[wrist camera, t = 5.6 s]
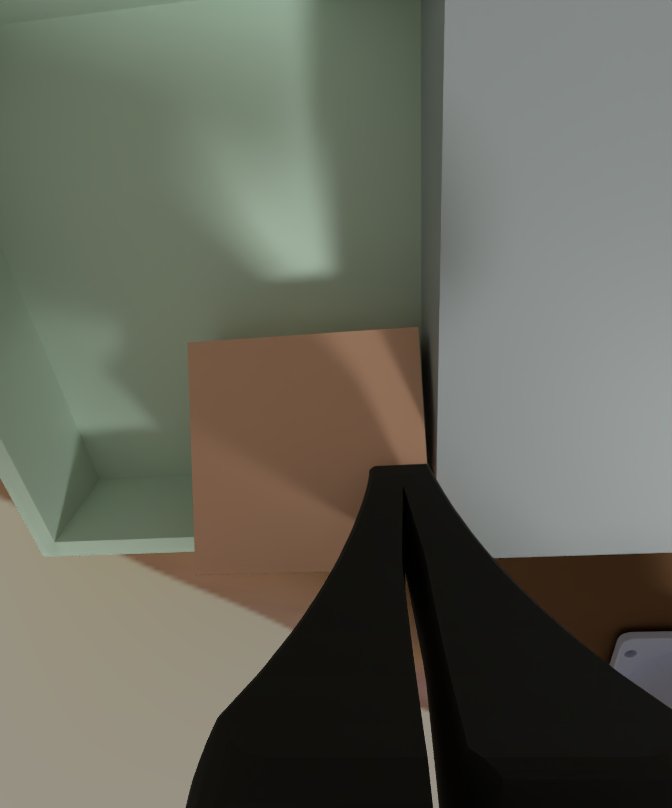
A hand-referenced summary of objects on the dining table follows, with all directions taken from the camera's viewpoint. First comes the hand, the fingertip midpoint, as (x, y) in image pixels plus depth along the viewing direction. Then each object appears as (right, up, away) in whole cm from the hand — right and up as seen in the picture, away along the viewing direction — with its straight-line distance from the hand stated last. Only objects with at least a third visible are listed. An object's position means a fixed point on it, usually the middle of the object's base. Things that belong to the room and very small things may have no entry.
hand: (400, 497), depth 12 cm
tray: (-5, +6, +3) cm, 8 cm away
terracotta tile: (-2, +1, +3) cm, 4 cm away
